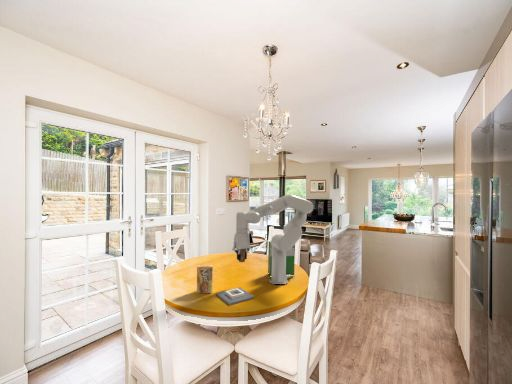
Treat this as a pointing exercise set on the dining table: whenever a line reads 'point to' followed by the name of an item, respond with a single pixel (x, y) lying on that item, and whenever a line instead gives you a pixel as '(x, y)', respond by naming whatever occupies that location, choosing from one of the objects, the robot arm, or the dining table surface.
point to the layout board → (234, 296)
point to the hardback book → (289, 260)
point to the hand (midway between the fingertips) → (241, 259)
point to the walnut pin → (242, 255)
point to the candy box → (204, 278)
